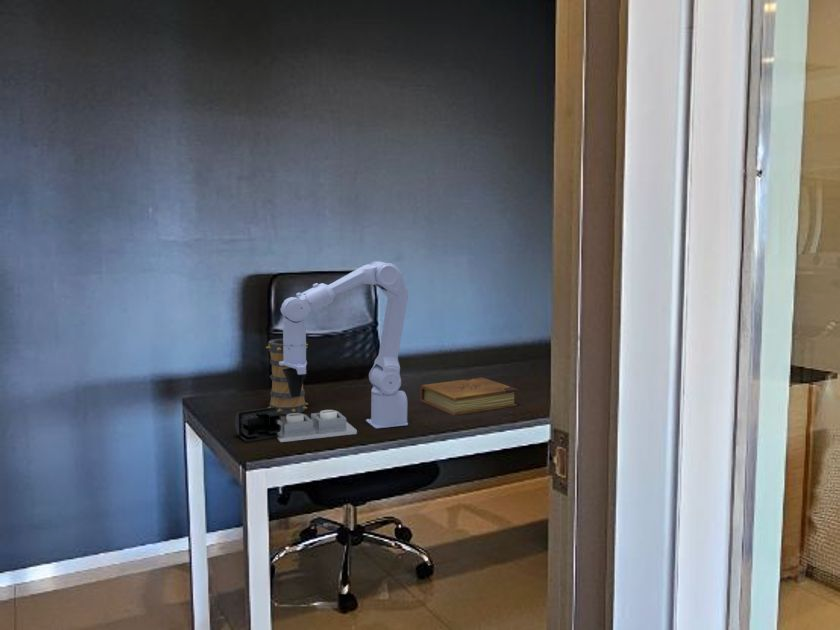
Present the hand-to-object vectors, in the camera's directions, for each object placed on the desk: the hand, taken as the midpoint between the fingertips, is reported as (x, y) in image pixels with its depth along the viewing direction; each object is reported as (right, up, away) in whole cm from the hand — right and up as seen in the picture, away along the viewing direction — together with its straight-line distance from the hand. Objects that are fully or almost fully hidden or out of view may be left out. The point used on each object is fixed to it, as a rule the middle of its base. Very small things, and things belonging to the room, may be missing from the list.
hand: (295, 396), depth 190 cm
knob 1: (0, -9, +1) cm, 9 cm away
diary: (+47, -7, +34) cm, 58 cm away
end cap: (-9, -10, -3) cm, 14 cm away
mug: (-7, -6, +25) cm, 27 cm away
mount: (+4, -9, +3) cm, 11 cm away
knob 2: (+8, -9, +5) cm, 13 cm away
